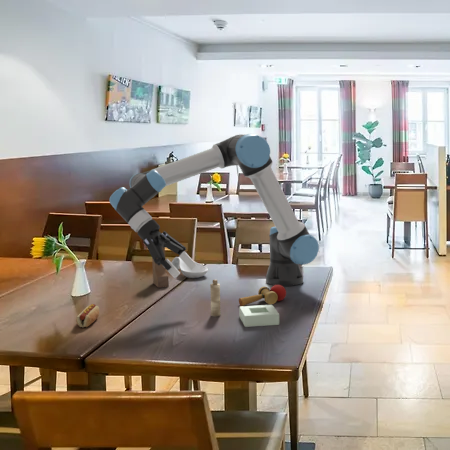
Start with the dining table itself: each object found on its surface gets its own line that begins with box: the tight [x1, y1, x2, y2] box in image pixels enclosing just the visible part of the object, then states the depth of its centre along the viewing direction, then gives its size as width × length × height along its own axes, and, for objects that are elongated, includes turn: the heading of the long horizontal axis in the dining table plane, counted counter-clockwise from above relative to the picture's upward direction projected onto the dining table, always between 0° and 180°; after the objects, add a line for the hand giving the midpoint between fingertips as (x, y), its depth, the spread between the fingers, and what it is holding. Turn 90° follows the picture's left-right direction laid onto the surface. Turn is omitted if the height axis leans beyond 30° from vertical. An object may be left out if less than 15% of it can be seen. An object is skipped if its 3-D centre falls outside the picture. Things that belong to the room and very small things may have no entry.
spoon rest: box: [170, 256, 209, 279], centre depth 268 cm, size 24×12×7 cm, turn 34°
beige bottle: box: [209, 279, 221, 317], centre depth 206 cm, size 3×3×12 cm
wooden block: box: [151, 247, 170, 289], centre depth 249 cm, size 9×4×18 cm, turn 19°
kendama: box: [238, 285, 287, 306], centre depth 220 cm, size 8×6×18 cm
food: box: [75, 303, 100, 328], centre depth 201 cm, size 14×6×5 cm, turn 176°
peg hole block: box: [238, 304, 280, 328], centre depth 202 cm, size 11×16×4 cm
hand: (186, 271), depth 208 cm, fingers open, 13 cm apart
